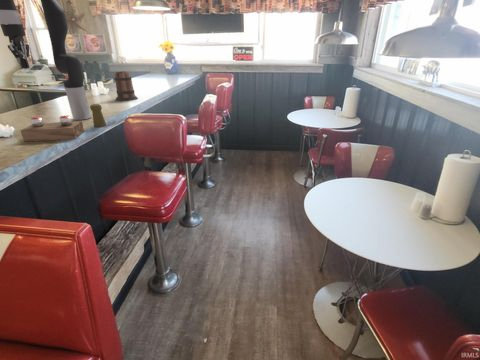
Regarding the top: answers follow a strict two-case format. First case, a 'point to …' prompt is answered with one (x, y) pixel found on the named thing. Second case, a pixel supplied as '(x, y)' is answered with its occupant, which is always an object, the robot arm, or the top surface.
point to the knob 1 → (36, 121)
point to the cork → (97, 115)
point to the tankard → (124, 87)
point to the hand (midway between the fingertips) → (26, 68)
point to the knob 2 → (65, 120)
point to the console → (52, 131)
